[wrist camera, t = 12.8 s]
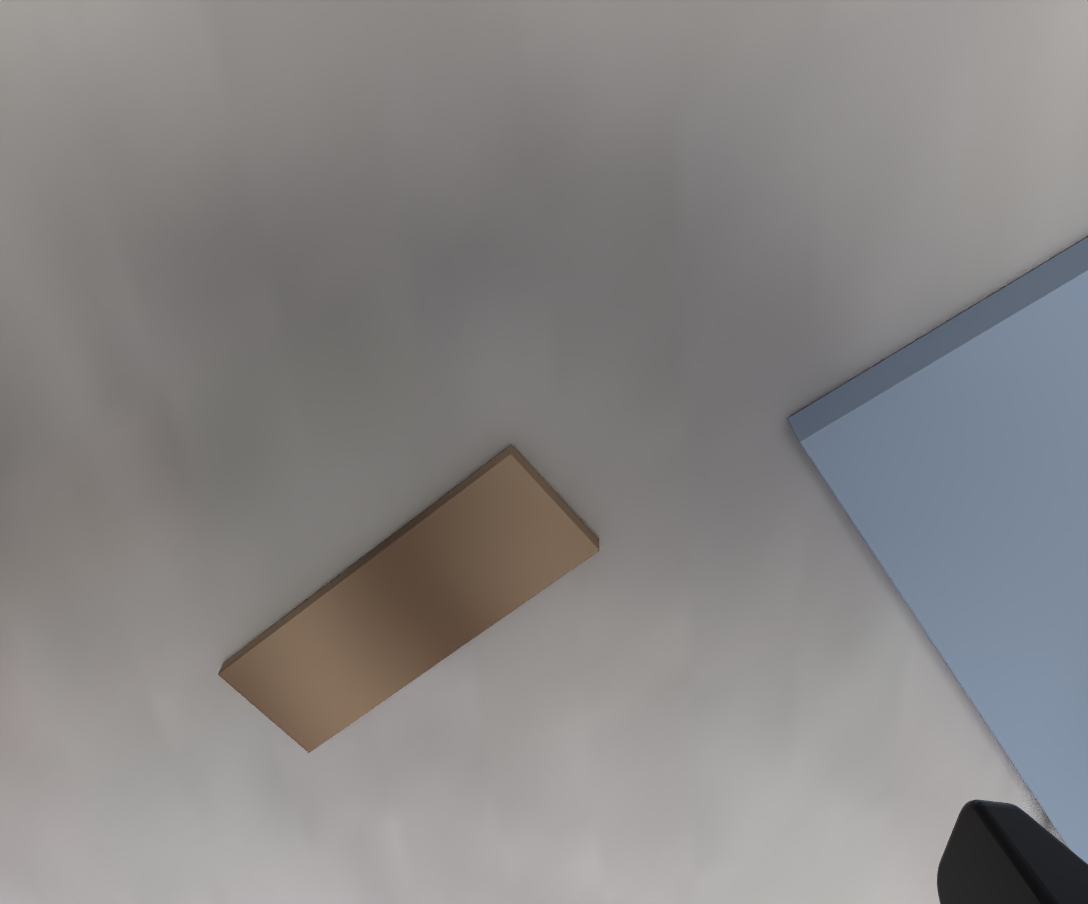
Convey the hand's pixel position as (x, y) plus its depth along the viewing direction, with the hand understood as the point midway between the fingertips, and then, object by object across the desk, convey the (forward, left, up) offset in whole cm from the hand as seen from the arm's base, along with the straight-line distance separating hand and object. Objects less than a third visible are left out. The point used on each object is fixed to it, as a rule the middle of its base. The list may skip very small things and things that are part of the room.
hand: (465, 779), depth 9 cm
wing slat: (-6, -4, -14) cm, 15 cm away
